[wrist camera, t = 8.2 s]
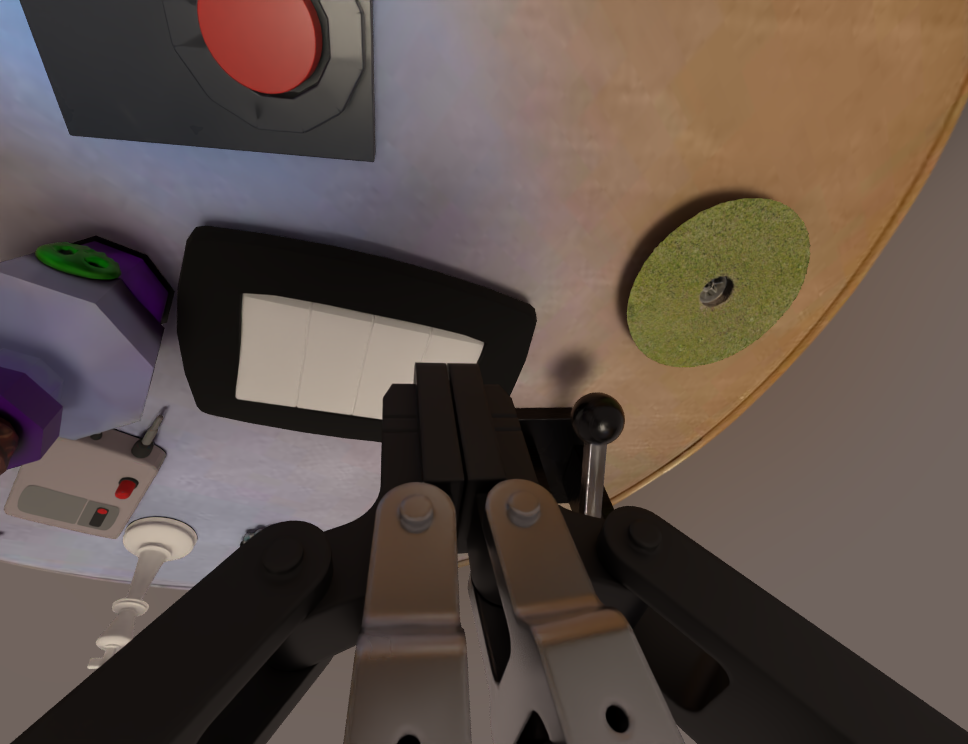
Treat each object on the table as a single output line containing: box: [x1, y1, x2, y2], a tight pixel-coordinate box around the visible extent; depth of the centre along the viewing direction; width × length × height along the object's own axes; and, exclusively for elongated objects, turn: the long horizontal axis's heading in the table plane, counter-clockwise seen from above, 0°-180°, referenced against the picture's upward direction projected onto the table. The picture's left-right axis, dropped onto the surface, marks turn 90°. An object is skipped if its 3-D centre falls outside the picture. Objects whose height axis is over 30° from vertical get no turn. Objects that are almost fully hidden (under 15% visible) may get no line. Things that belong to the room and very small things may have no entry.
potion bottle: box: [0, 236, 175, 475], centre depth 20 cm, size 9×9×12 cm
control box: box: [20, 0, 376, 162], centre depth 17 cm, size 12×9×4 cm
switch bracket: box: [515, 408, 614, 520], centre depth 33 cm, size 10×8×12 cm
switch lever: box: [570, 393, 625, 518], centre depth 29 cm, size 13×3×3 cm, turn 173°
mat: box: [627, 198, 810, 367], centre depth 29 cm, size 11×11×2 cm
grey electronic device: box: [4, 415, 166, 539], centre depth 30 cm, size 7×16×3 cm, turn 140°
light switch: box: [177, 226, 537, 442], centre depth 28 cm, size 20×3×14 cm
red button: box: [197, 0, 322, 94], centre depth 16 cm, size 4×4×2 cm
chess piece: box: [87, 517, 197, 669], centre depth 33 cm, size 5×5×10 cm
